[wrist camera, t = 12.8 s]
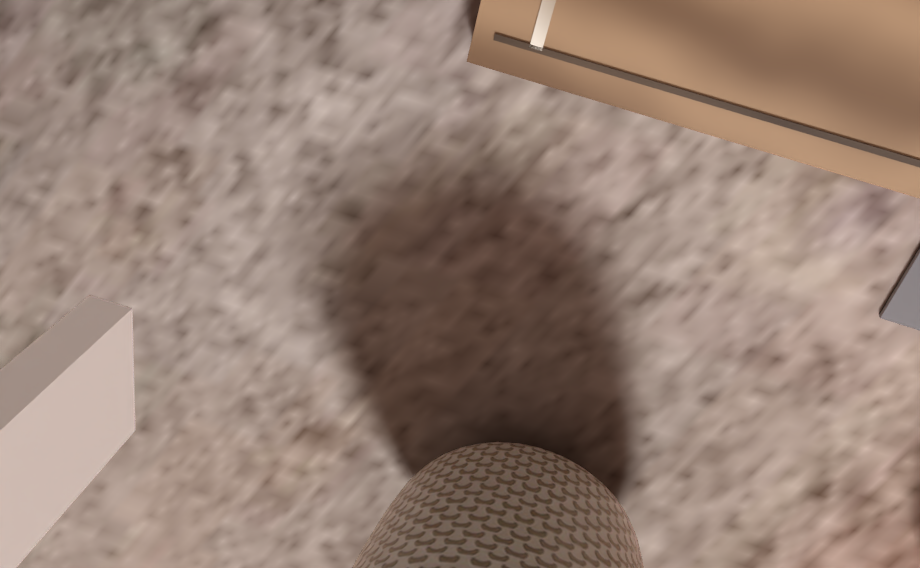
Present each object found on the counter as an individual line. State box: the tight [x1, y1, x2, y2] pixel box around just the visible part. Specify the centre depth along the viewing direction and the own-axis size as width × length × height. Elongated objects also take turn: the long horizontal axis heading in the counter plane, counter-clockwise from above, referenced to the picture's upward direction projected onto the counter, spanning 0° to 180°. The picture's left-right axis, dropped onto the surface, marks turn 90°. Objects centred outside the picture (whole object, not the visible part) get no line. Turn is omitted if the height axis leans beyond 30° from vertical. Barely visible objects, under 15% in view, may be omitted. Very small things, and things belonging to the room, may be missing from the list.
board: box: [467, 0, 920, 198], centre depth 36 cm, size 9×30×2 cm, turn 77°
